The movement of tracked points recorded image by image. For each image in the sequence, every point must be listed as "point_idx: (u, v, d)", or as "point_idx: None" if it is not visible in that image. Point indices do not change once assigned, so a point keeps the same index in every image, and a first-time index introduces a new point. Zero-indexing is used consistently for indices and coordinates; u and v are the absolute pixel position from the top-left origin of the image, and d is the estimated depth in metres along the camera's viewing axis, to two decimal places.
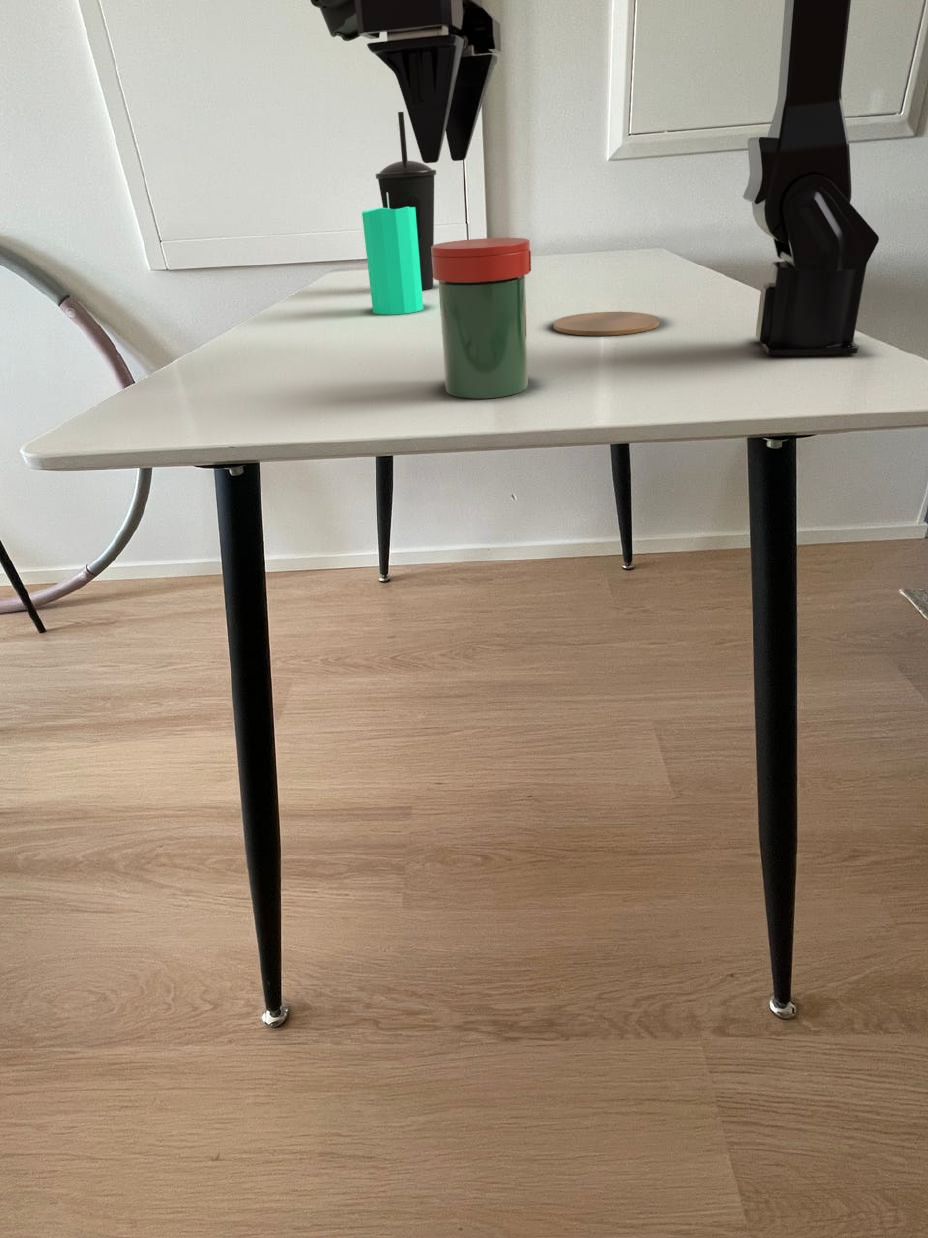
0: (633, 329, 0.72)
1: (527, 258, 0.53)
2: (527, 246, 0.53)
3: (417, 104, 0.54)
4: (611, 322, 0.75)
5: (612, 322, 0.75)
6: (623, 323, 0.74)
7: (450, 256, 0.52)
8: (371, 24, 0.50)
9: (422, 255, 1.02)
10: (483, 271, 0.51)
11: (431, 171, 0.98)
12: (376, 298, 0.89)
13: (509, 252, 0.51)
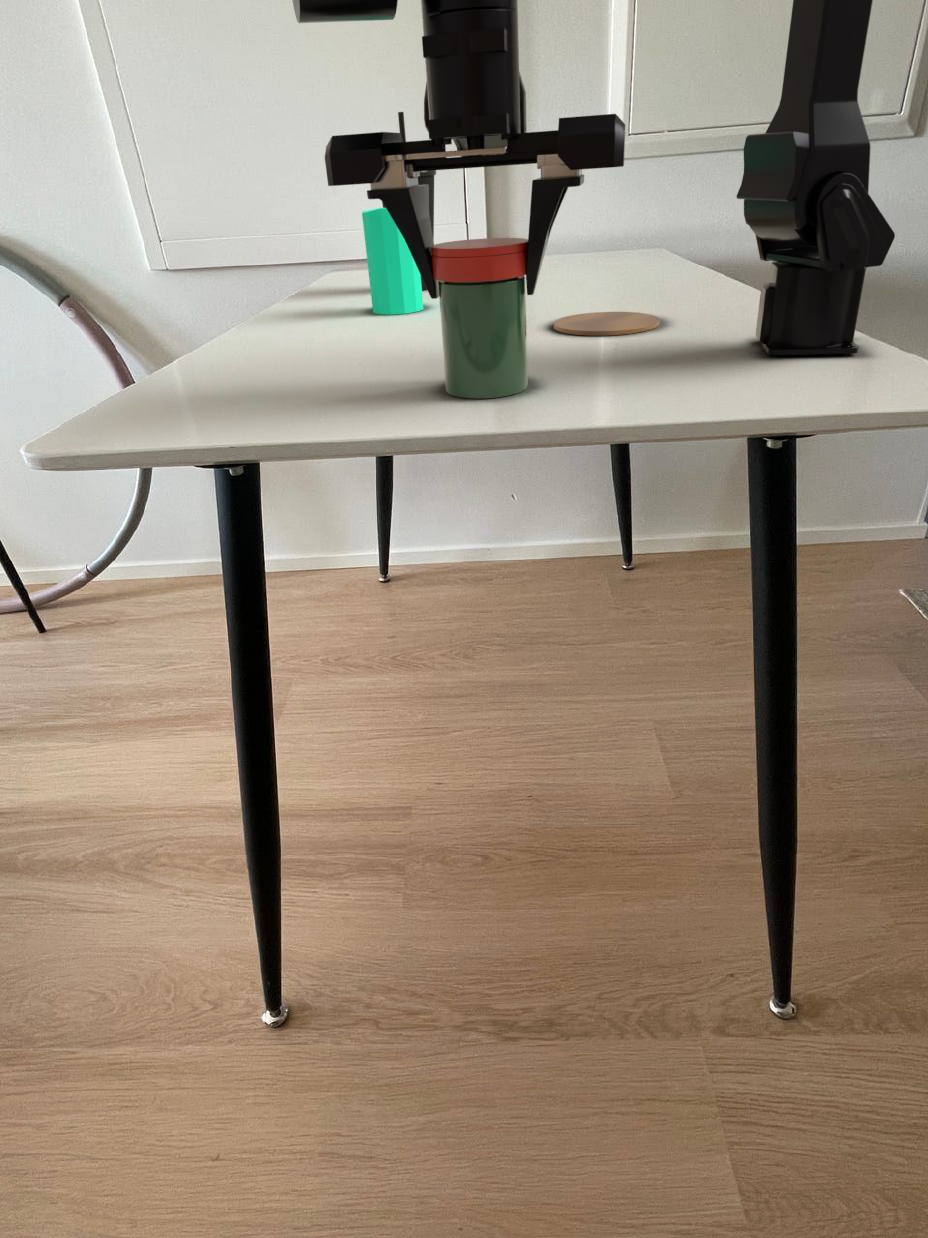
0: (633, 329, 0.72)
1: None
2: (527, 246, 0.53)
3: None
4: (611, 322, 0.75)
5: (612, 322, 0.75)
6: (623, 323, 0.74)
7: (450, 256, 0.52)
8: None
9: None
10: (483, 271, 0.51)
11: (431, 171, 0.98)
12: (376, 298, 0.89)
13: (509, 252, 0.51)
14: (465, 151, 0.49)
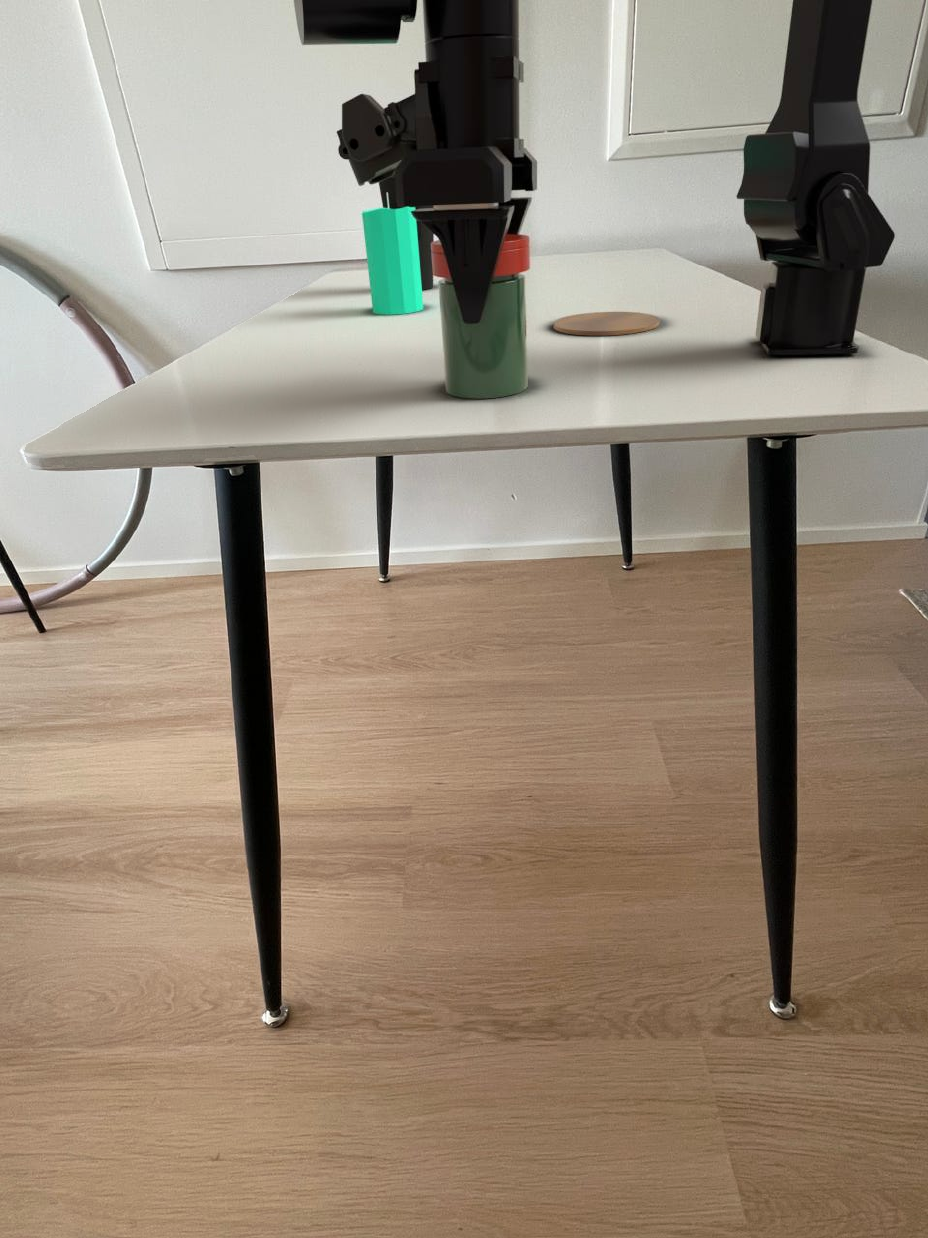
0: (633, 329, 0.72)
1: None
2: None
3: (461, 268, 0.50)
4: (611, 322, 0.75)
5: (612, 322, 0.75)
6: (623, 323, 0.74)
7: (521, 247, 0.52)
8: (413, 198, 0.44)
9: (422, 255, 1.02)
10: (529, 258, 0.54)
11: None
12: (376, 298, 0.89)
13: None
14: None
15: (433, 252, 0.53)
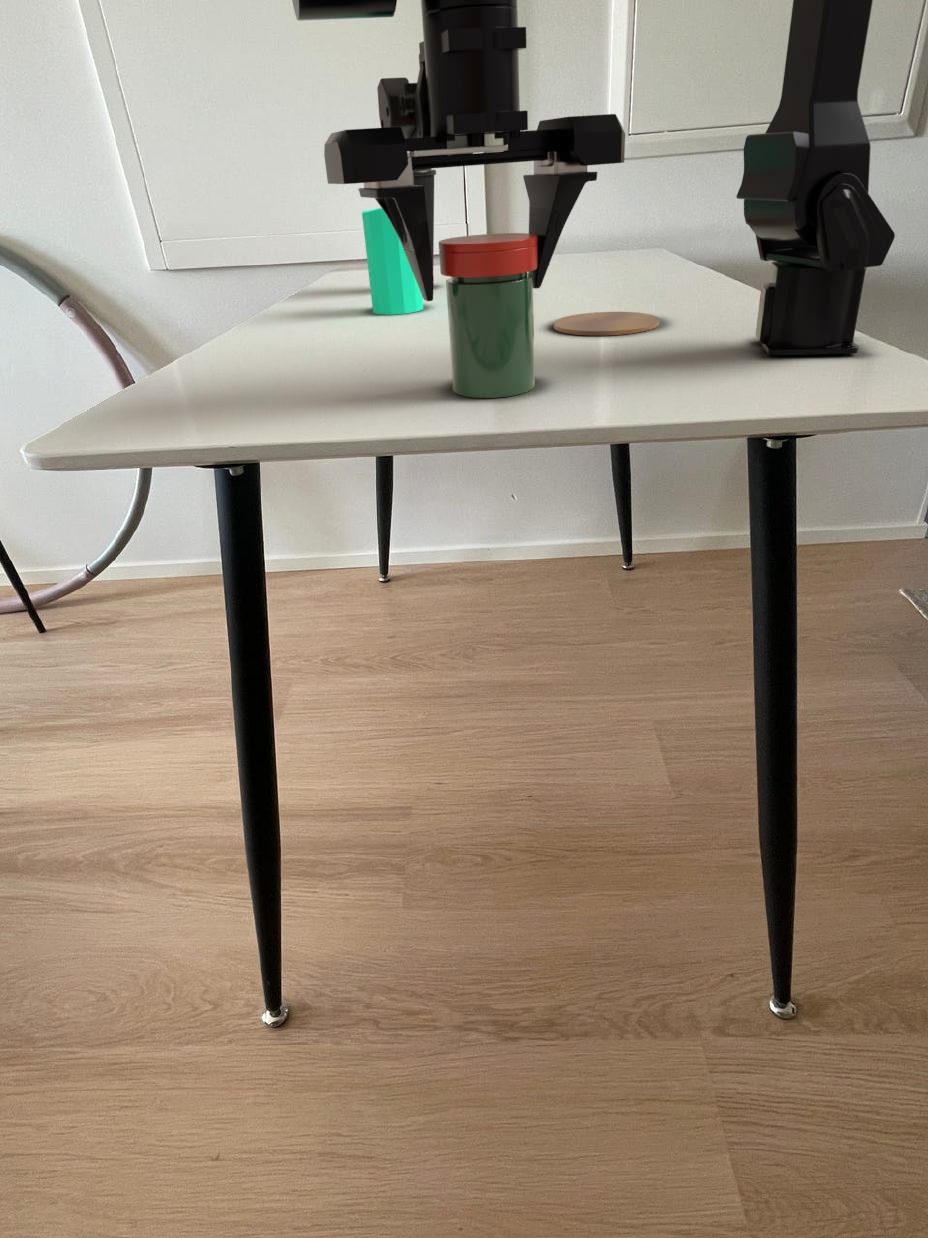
0: (633, 329, 0.72)
1: None
2: None
3: (405, 245, 0.52)
4: (611, 322, 0.75)
5: (612, 322, 0.75)
6: (623, 323, 0.74)
7: (528, 246, 0.52)
8: (328, 177, 0.51)
9: None
10: (537, 257, 0.54)
11: (431, 171, 0.98)
12: (376, 298, 0.89)
13: None
14: (471, 148, 0.49)
15: (441, 251, 0.53)
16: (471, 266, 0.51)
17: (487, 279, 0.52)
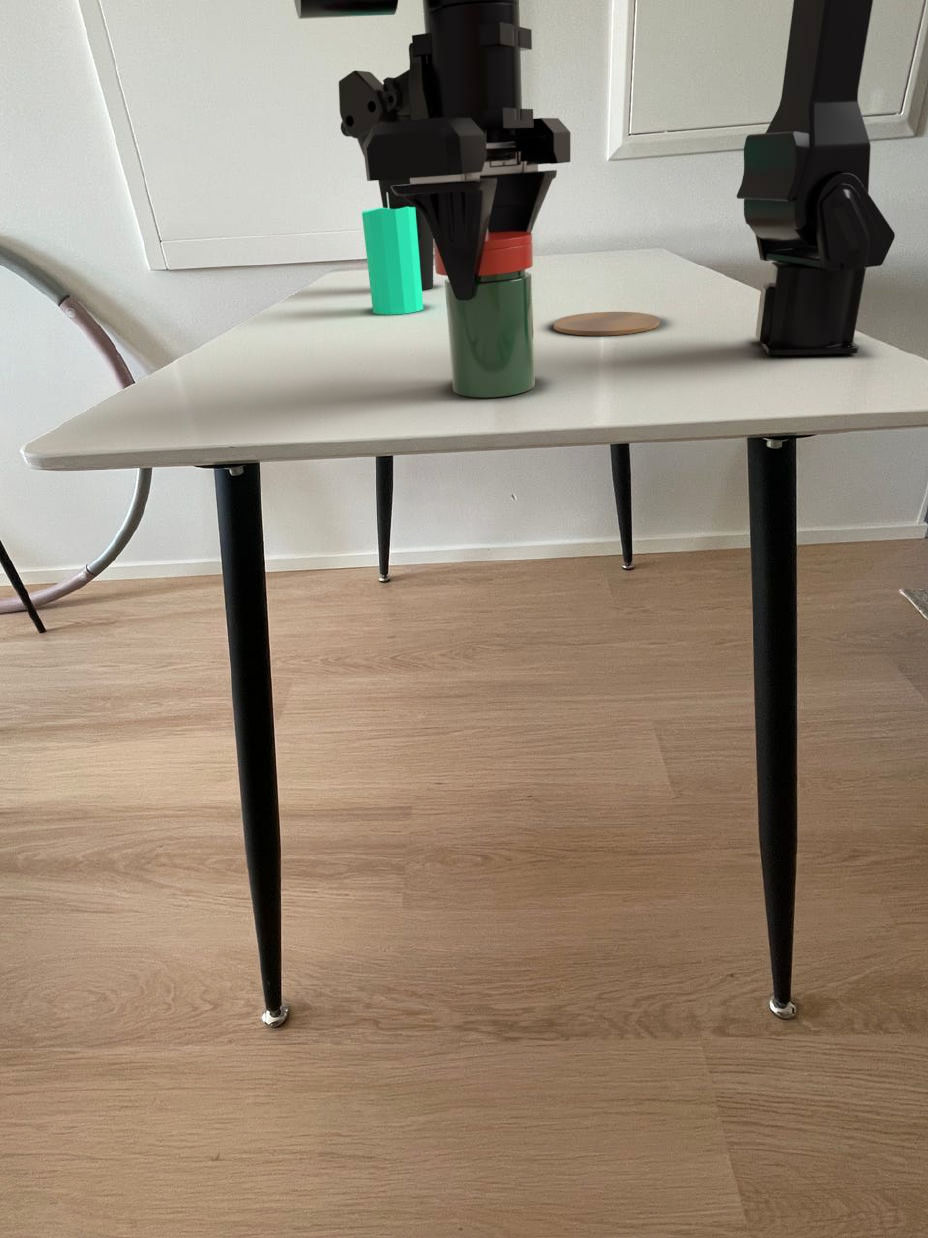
0: (633, 329, 0.72)
1: None
2: None
3: (447, 244, 0.50)
4: (611, 322, 0.75)
5: (612, 322, 0.75)
6: (623, 323, 0.74)
7: None
8: (377, 172, 0.45)
9: (422, 255, 1.02)
10: None
11: None
12: (376, 298, 0.89)
13: None
14: (501, 143, 0.50)
15: (483, 250, 0.51)
16: (523, 258, 0.52)
17: (486, 278, 0.52)
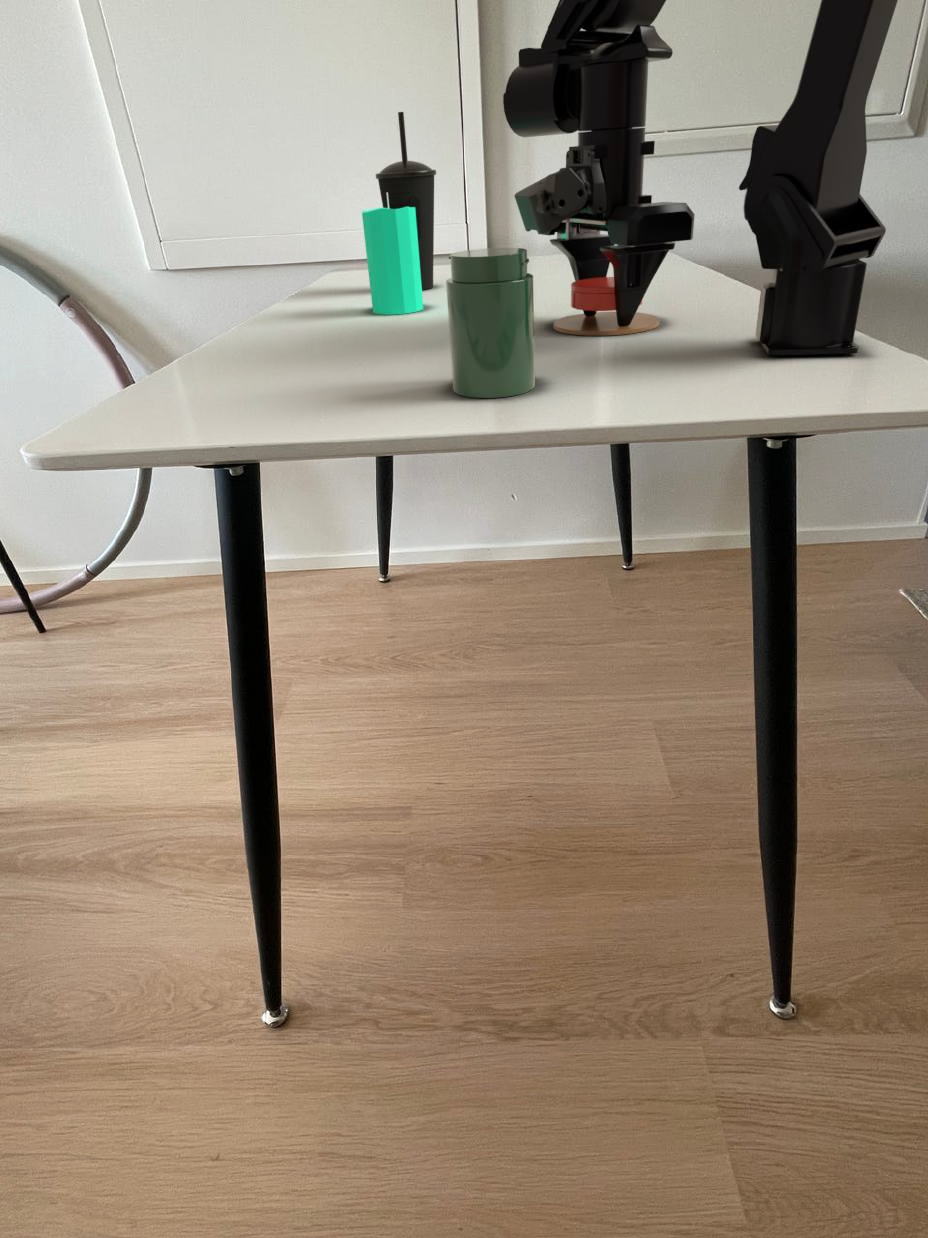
0: (633, 329, 0.72)
1: (572, 296, 0.75)
2: (572, 288, 0.74)
3: (628, 287, 0.71)
4: (611, 322, 0.75)
5: (612, 322, 0.75)
6: None
7: None
8: (643, 239, 0.64)
9: (422, 255, 1.02)
10: None
11: (431, 171, 0.98)
12: (376, 298, 0.89)
13: None
14: None
15: None
16: None
17: (487, 279, 0.52)
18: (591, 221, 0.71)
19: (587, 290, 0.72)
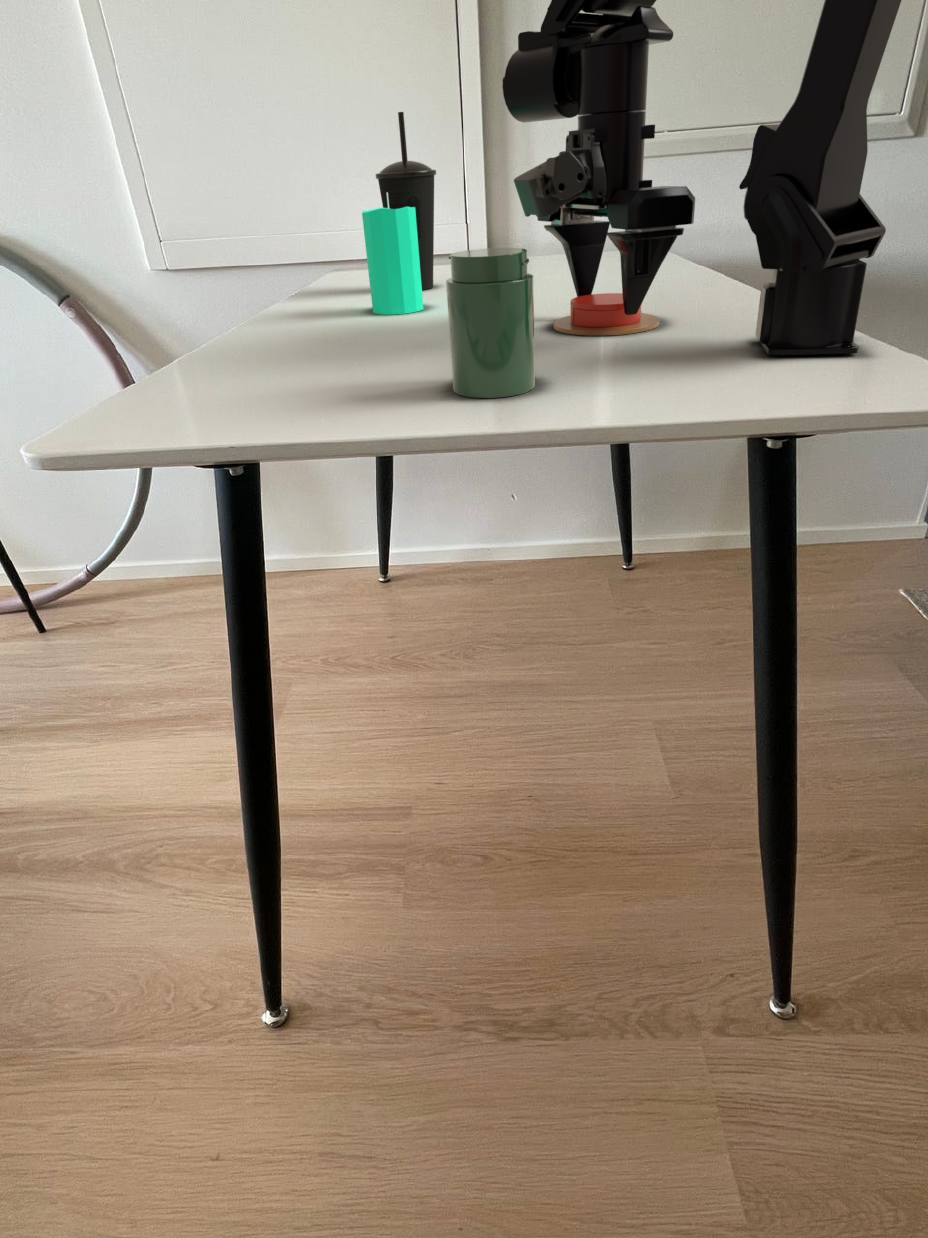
0: (633, 329, 0.72)
1: (571, 313, 0.75)
2: (571, 305, 0.75)
3: (635, 274, 0.69)
4: None
5: None
6: None
7: None
8: (643, 223, 0.63)
9: (422, 255, 1.02)
10: None
11: (431, 171, 0.98)
12: (376, 298, 0.89)
13: None
14: None
15: None
16: None
17: (487, 279, 0.52)
18: (584, 206, 0.72)
19: (586, 307, 0.73)
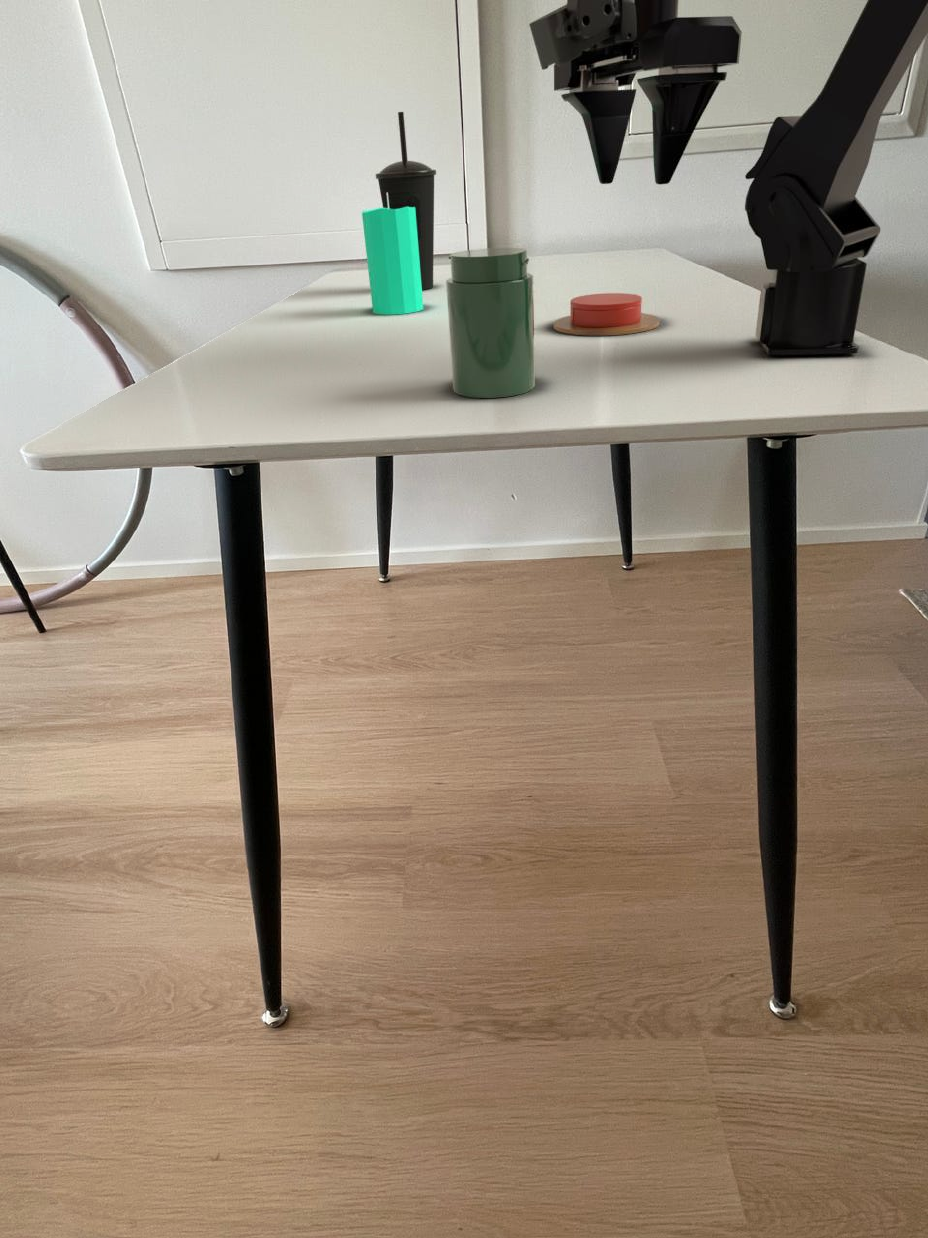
0: (633, 329, 0.72)
1: (571, 313, 0.75)
2: (571, 305, 0.75)
3: (669, 131, 0.60)
4: None
5: None
6: None
7: None
8: (682, 58, 0.55)
9: (422, 255, 1.02)
10: None
11: (431, 171, 0.98)
12: (376, 298, 0.89)
13: None
14: None
15: (635, 306, 0.73)
16: None
17: (487, 279, 0.52)
18: (609, 60, 0.63)
19: (586, 307, 0.73)
